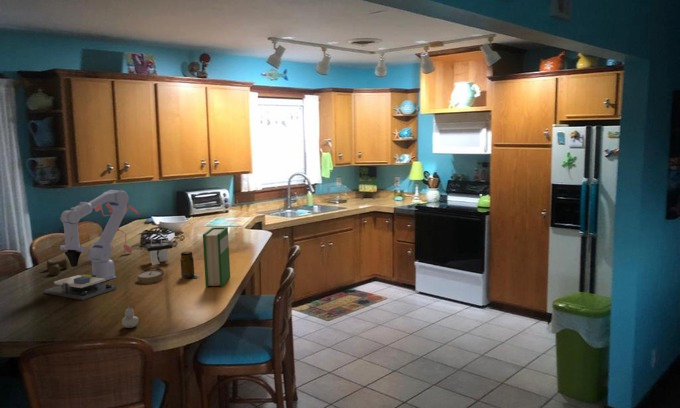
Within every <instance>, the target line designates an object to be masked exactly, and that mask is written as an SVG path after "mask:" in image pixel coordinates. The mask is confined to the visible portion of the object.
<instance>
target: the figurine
mask: <svg viewBox="0 0 680 408" xmlns="http://www.w3.org/2000/svg"><path fill="white" fill-rule="evenodd" d="M128 205H129V201H128V202H127V206H128ZM105 207H106V208H107V209H108V212H109V213H112V212H113V209H112V207H111V206H110V205H109V203H108V202H106V204H105ZM129 209H130V210H131V211H133V213H135V214H137V215H140V213H139V211H138V210H137V209H136V208H135V207H133V206H132V205H129V206H128V207H127V208H126V213H127V212H128V211H129ZM94 210H95V213H96V212H99V211H101V213H102V216H103V217H109V216H110V217H111V214H104V210H103V204H101V205H99V206H97V207H95V208H94ZM126 213H125V215H126ZM119 231H120V232H121V233H123V234H124V235H125V237H124V239H125V240H124V241H125V244H123V246H122V247H123V250H124V251H123V256H125V255H126V251H127V252H128V253H132V252H133V251H132V250H133V249H132V248H131V247H130V245H128V244H127V233H126V232H124V231H123V230H121V229H120V226H119V227H118V230H117V232H119ZM111 246H112V251H113V252H114V247H113V245H112V244H111ZM125 250H126V251H125ZM112 251H111V253H112ZM135 255H136V254H134V256H135Z"/></svg>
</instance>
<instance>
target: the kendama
mask: <svg viewBox="0 0 680 408" xmlns="http://www.w3.org/2000/svg"><path fill="white" fill-rule="evenodd" d="M46 268H47V269H46V270H47V271H48V274H49V275H50V276H52V275H54V276H58V275H59V274H60V273H61V270H62V269H65V270H67V268H68V269H69V259H68V257H67V258H64V259H62V260H56V261H55V260H52V259H49V258H48V259H47V260H46Z"/></svg>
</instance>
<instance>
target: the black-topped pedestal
mask: <svg viewBox="0 0 680 408" xmlns="http://www.w3.org/2000/svg"><path fill="white" fill-rule="evenodd" d="M145 247H146V248H145V249H146V251H147V252H150V263H151V265H152V266H155V265H159V264H161V263H162V262H169V256H168V255H169V254H168V253H169V252H168V250H169V249H173V248H174V247H173V243H172V242H171V241H169V238H168V237H166V241H165V242H163V240H162V239H155V240H152V241H150V243H146V244H145ZM160 262H161V263H160Z"/></svg>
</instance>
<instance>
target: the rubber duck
mask: <svg viewBox="0 0 680 408" xmlns="http://www.w3.org/2000/svg"><path fill="white" fill-rule="evenodd" d="M138 323H139V317H138V316H136V315H135V311H134V309H133V308H132V307H130V306H129V305H128V306H127V307H126V308H125V310H124V317H123V318H122V320H121V324H122V326H123V327H124V328H127V329H131V328H134V327H136V326H137V325H138Z"/></svg>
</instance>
